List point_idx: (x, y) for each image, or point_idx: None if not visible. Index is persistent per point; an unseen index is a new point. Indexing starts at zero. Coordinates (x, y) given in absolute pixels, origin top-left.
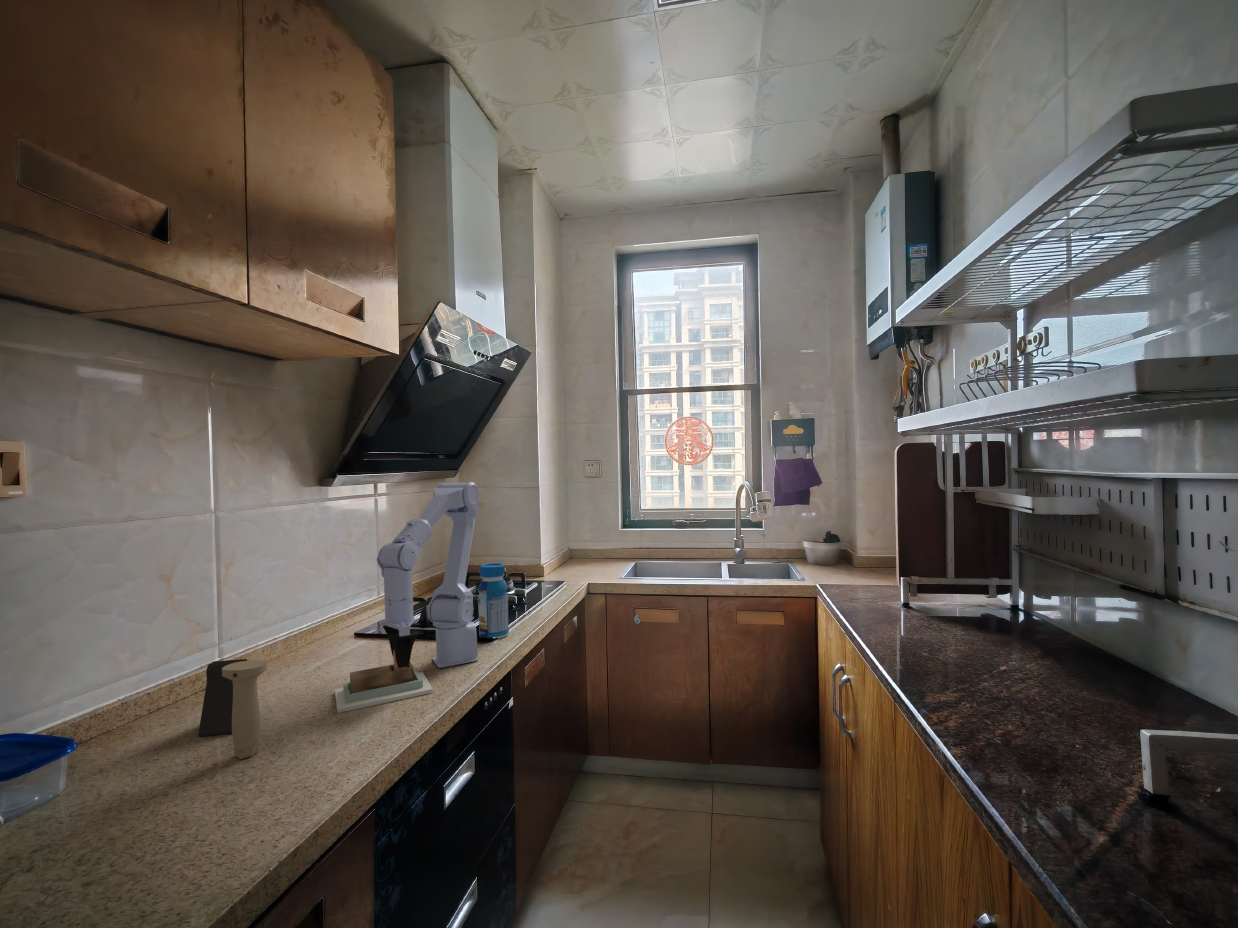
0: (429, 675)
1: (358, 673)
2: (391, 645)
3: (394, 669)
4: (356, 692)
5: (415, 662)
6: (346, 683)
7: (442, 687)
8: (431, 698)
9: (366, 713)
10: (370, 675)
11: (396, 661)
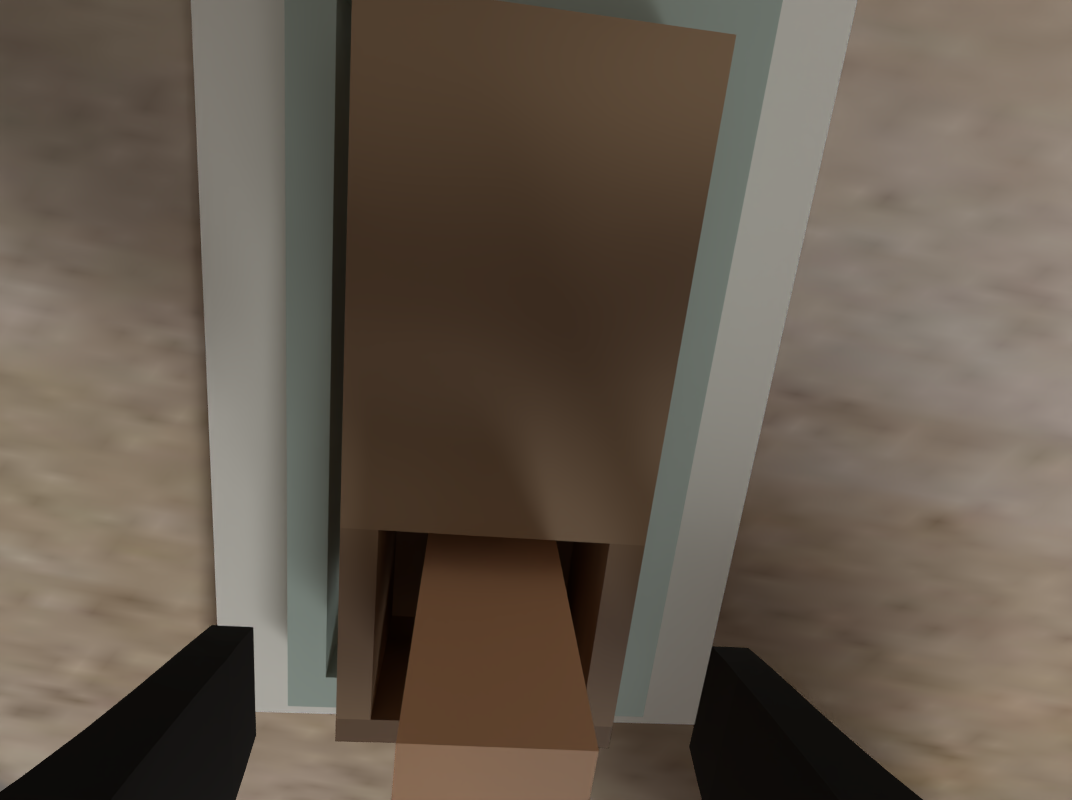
0: (642, 738)
1: (587, 141)
2: (804, 774)
3: (486, 567)
4: (334, 74)
5: (1025, 715)
6: (748, 32)
7: (306, 759)
8: (107, 654)
9: (32, 123)
10: (378, 272)
11: (157, 672)
